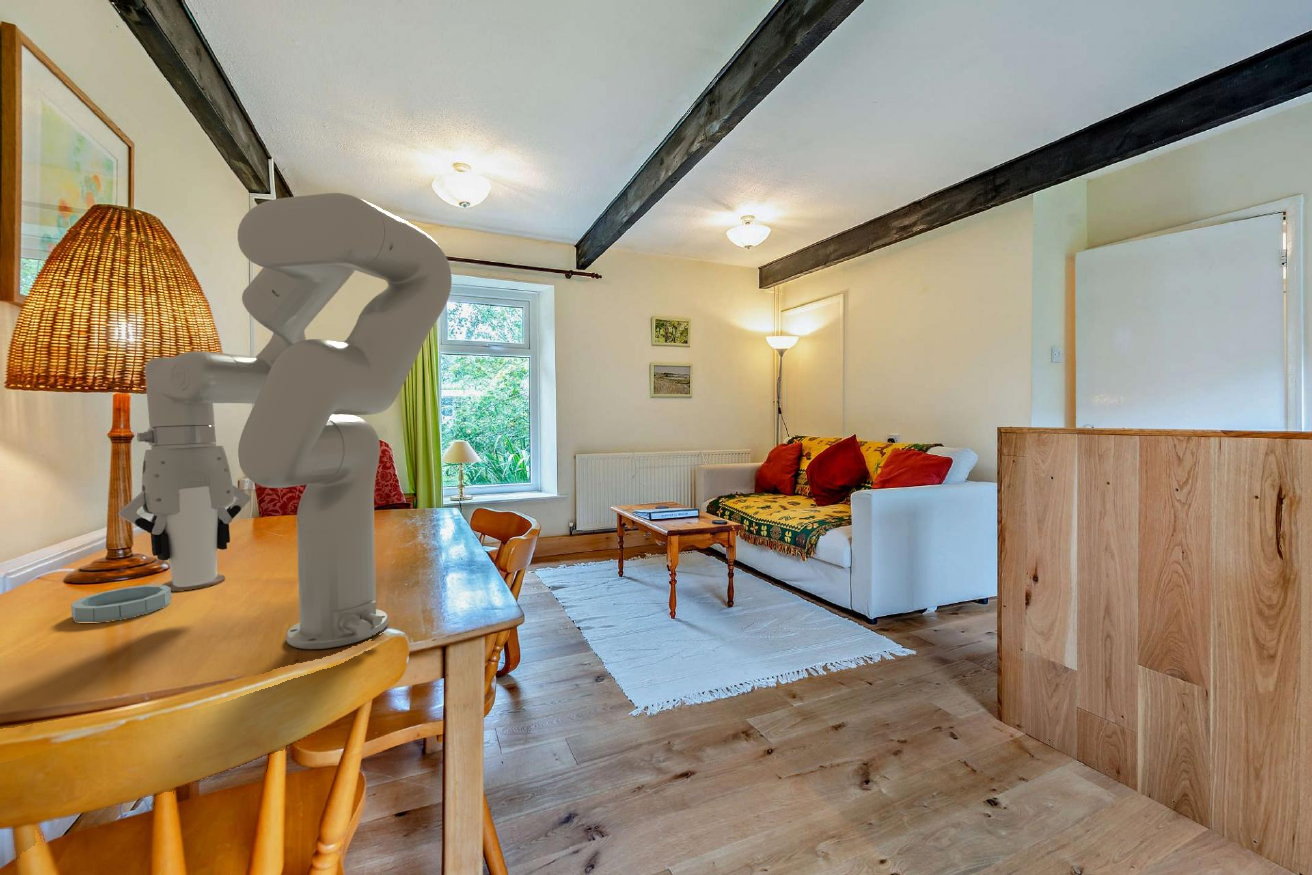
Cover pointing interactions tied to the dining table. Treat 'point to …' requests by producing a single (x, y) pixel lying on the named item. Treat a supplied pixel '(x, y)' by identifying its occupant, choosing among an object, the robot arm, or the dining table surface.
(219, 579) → the walnut coaster
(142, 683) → the dining table surface
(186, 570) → the drinking glass
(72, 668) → the dining table surface
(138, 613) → the round dish
